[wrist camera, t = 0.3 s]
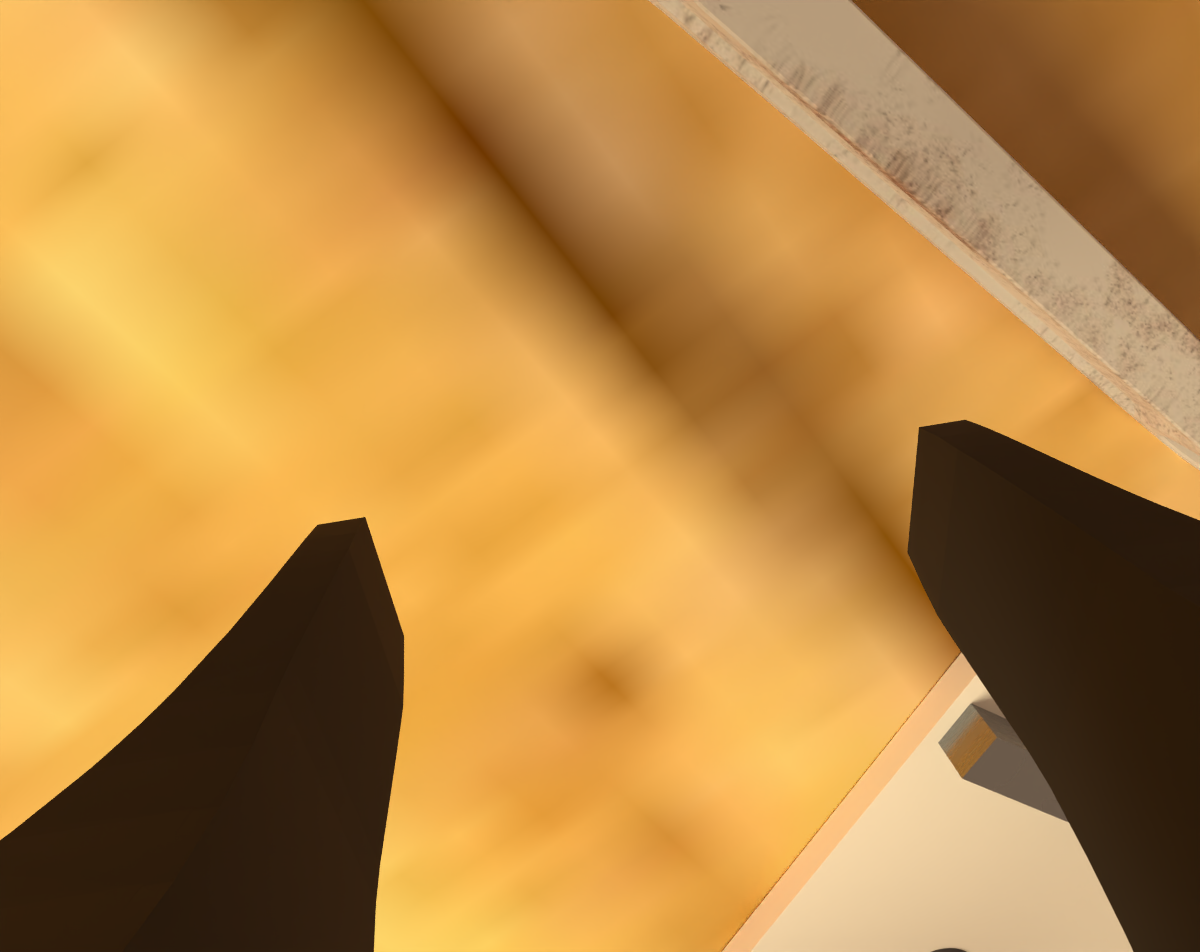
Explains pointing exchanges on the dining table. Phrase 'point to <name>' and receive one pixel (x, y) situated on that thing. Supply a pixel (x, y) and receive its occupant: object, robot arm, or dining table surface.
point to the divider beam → (997, 760)
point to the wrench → (960, 195)
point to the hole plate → (935, 861)
